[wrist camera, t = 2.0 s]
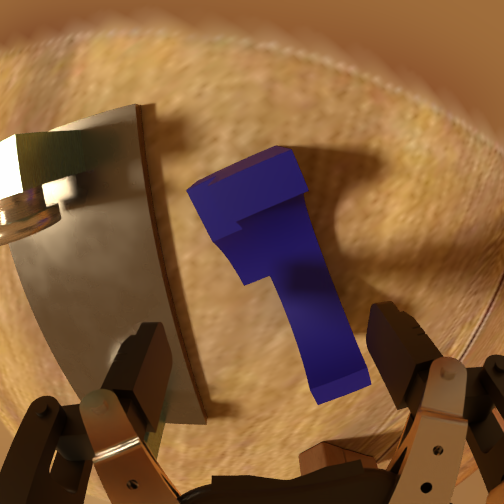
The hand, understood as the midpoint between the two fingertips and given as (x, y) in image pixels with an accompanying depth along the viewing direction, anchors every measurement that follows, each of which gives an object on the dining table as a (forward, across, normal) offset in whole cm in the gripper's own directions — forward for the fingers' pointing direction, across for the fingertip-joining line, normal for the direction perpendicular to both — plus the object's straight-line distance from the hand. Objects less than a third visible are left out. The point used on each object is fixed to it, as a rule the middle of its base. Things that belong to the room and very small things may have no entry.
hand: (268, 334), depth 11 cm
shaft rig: (+7, +12, +2) cm, 14 cm away
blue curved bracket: (+7, -1, 0) cm, 7 cm away
